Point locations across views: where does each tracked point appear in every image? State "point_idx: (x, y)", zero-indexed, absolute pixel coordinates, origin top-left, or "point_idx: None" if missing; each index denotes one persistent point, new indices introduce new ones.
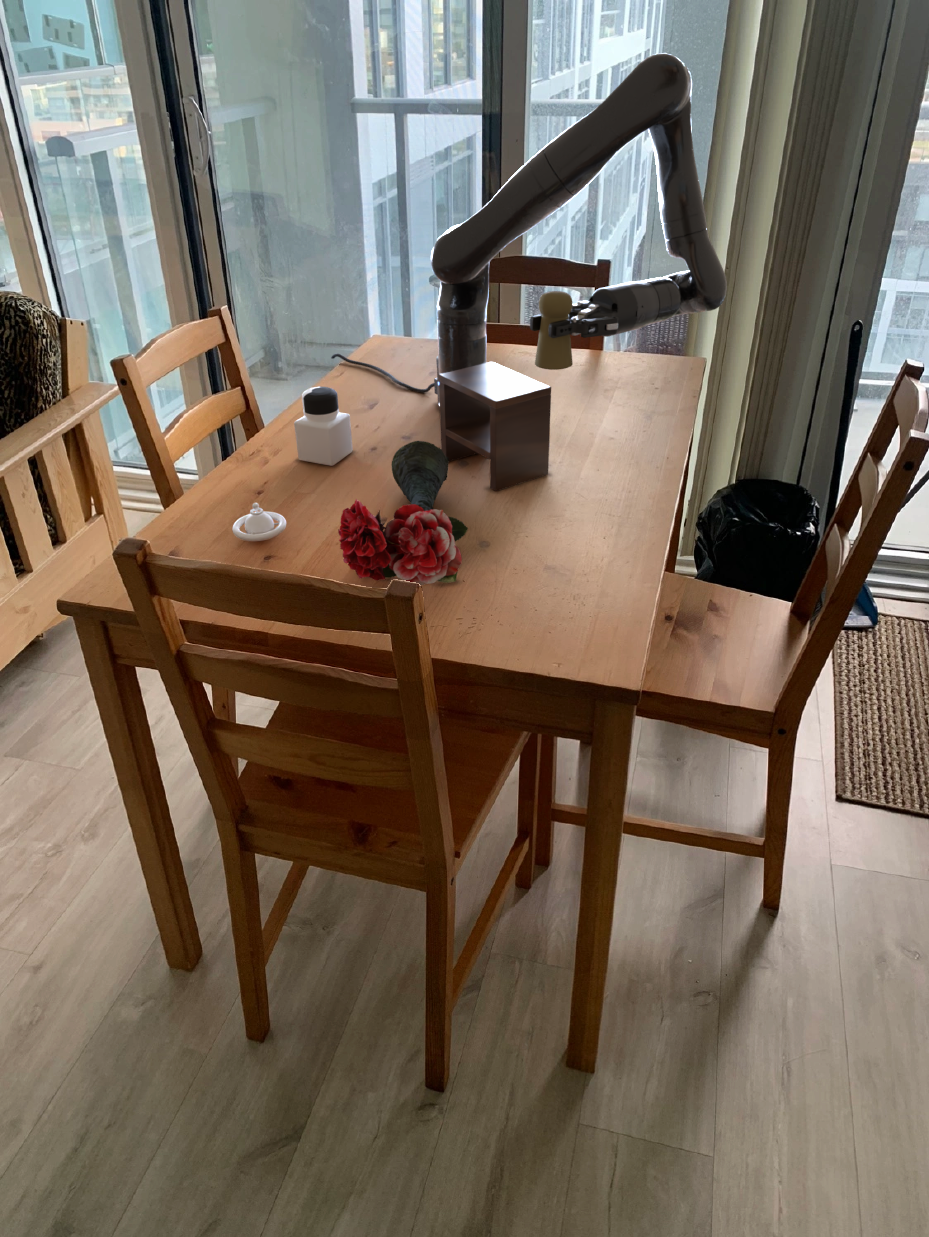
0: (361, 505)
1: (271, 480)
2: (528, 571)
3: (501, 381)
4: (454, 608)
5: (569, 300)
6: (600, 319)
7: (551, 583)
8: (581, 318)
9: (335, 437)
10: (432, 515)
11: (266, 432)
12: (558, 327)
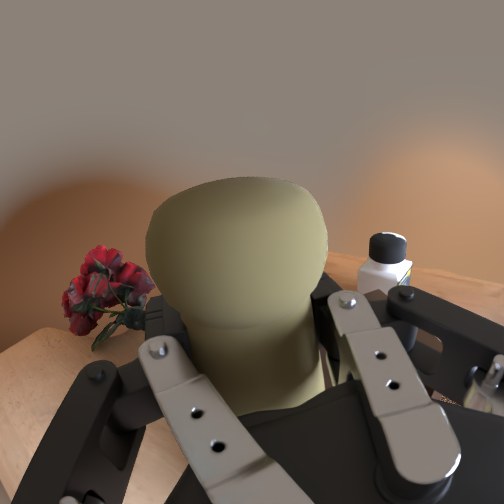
0: (98, 247)
1: (332, 276)
2: (64, 396)
3: (322, 362)
4: (69, 342)
5: (152, 240)
6: (51, 439)
7: (41, 401)
8: (148, 380)
9: (366, 284)
10: (70, 283)
11: (433, 269)
12: (150, 303)
